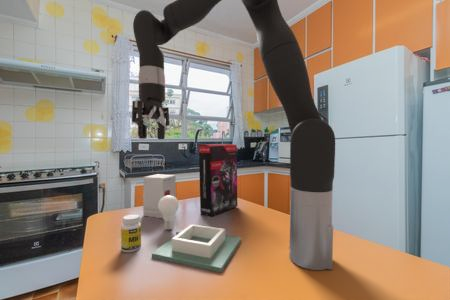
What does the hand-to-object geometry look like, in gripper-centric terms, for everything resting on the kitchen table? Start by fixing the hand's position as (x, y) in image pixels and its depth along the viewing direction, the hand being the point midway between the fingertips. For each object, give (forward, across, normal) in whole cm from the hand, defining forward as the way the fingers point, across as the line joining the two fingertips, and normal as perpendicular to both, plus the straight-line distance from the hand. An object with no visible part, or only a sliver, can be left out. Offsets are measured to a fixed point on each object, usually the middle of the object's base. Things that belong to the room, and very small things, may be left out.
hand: (152, 138), depth 66 cm
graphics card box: (+29, +28, -11) cm, 42 cm away
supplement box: (+29, +16, +9) cm, 35 cm away
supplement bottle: (+29, -10, -1) cm, 31 cm away
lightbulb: (+29, +4, -3) cm, 30 cm away
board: (+29, -4, -18) cm, 34 cm away
